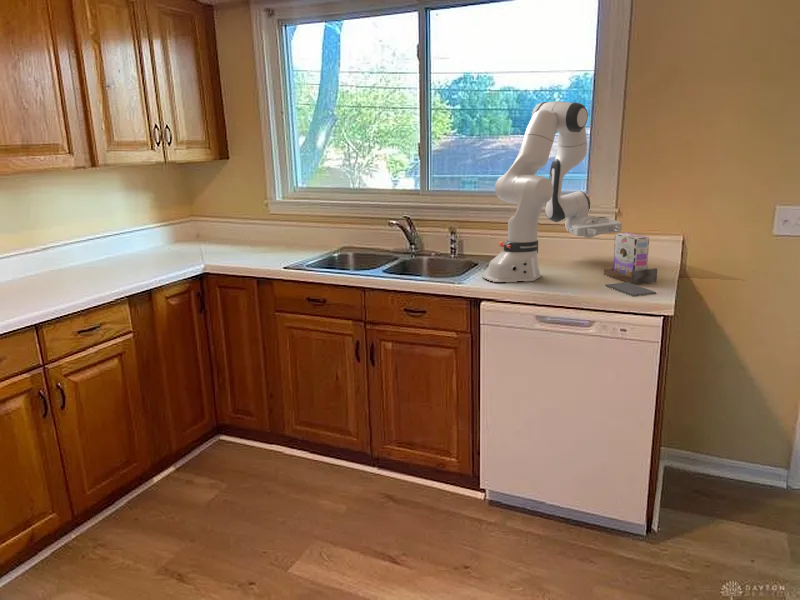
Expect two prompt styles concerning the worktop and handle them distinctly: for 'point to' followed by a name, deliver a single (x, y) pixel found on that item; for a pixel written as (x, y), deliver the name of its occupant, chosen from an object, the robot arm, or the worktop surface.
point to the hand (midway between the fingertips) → (607, 231)
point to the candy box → (630, 253)
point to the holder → (634, 276)
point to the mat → (630, 289)
